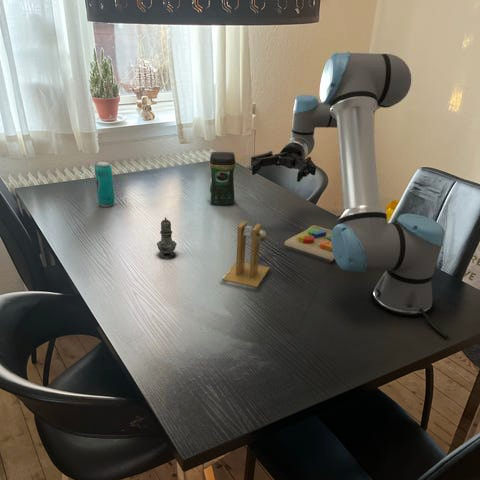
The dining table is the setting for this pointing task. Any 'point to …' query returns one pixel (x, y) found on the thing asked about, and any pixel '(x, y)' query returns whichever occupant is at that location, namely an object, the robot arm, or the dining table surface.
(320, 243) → the puzzle board
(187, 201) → the dining table surface
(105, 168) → the beverage can
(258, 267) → the wooden lever stand
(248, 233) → the tap lever
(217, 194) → the coffee jar
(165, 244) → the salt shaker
